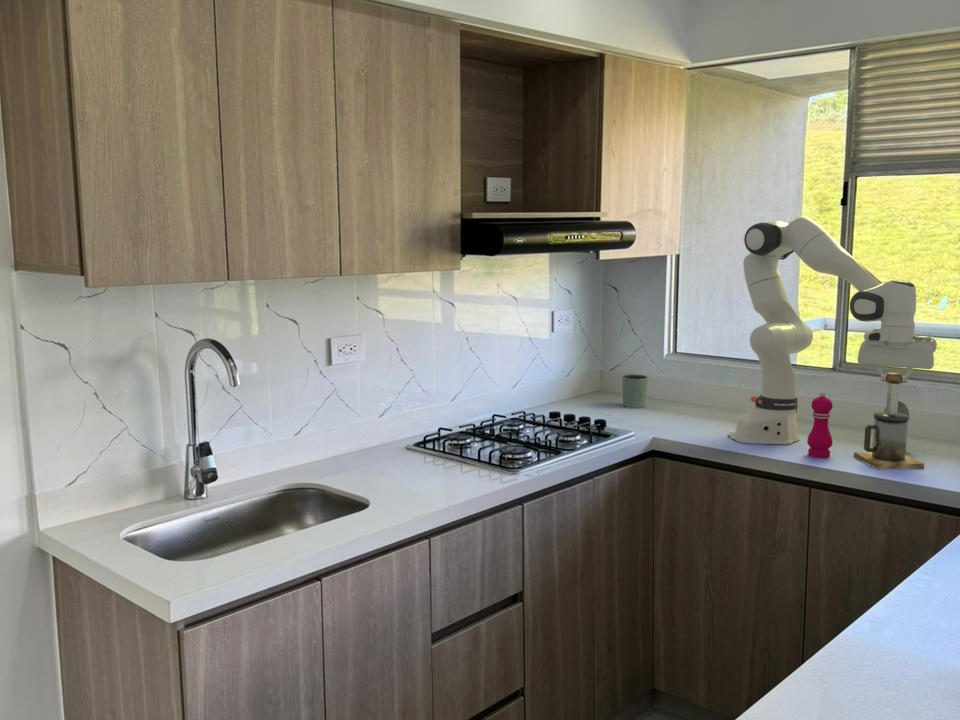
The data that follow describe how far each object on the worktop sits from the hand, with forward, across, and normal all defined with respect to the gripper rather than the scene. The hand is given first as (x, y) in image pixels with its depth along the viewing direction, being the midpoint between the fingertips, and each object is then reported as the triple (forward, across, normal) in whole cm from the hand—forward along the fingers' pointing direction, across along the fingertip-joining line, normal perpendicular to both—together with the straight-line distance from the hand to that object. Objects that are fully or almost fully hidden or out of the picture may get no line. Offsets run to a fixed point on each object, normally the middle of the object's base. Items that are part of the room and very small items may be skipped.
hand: (893, 381), depth 253 cm
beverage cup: (+25, -1, -18) cm, 31 cm away
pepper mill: (+25, +19, +1) cm, 31 cm away
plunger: (+10, 0, 0) cm, 10 cm away
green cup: (+25, +92, -47) cm, 106 cm away
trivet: (+24, 0, 0) cm, 24 cm away
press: (+23, +1, +1) cm, 23 cm away
